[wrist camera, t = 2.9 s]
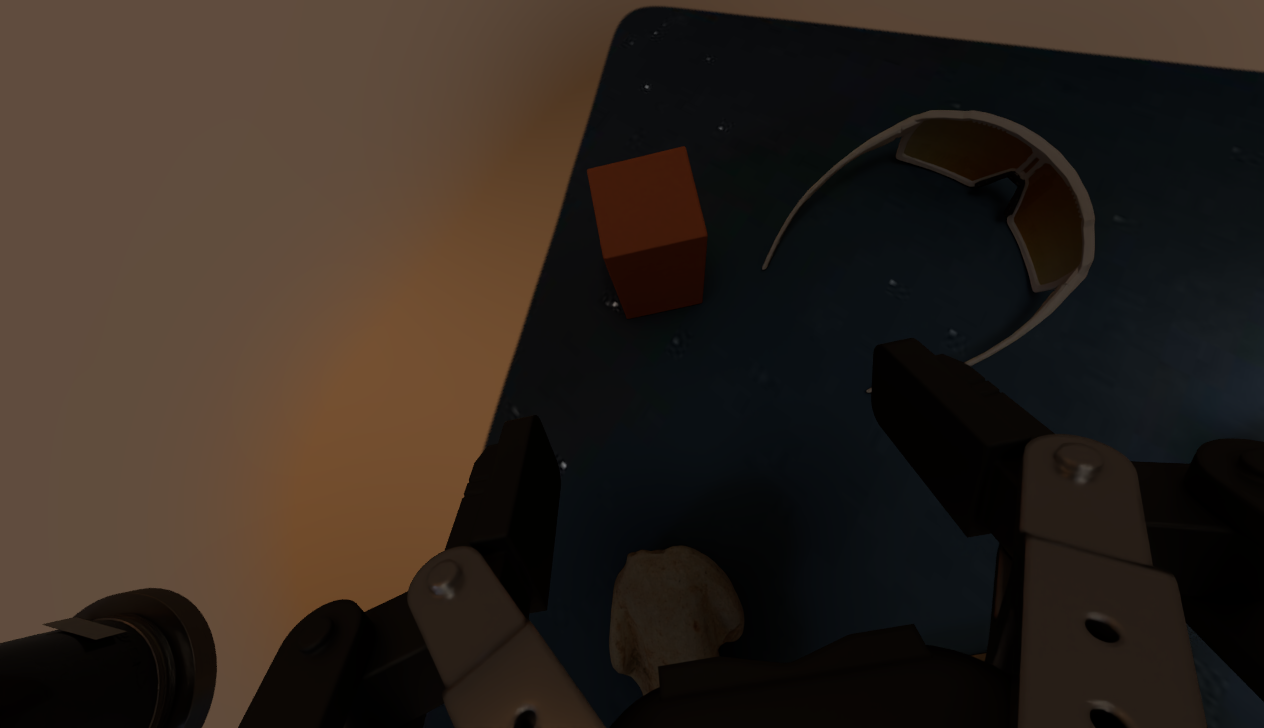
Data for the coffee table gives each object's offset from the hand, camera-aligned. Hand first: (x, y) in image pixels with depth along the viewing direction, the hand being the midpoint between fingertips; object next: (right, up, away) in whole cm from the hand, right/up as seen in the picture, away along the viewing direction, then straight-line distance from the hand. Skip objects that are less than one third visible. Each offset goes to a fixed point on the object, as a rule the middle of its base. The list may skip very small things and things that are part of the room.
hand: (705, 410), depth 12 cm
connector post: (0, +7, +20) cm, 21 cm away
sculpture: (+2, -16, +15) cm, 22 cm away
